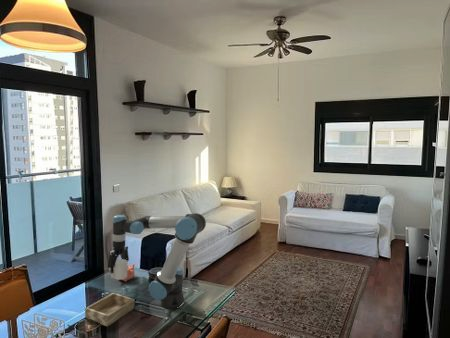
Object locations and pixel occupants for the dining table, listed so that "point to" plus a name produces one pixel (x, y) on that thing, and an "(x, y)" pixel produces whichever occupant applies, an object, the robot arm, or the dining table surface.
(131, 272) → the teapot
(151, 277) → the container
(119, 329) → the dining table surface
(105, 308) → the wooden tray
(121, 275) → the cup
